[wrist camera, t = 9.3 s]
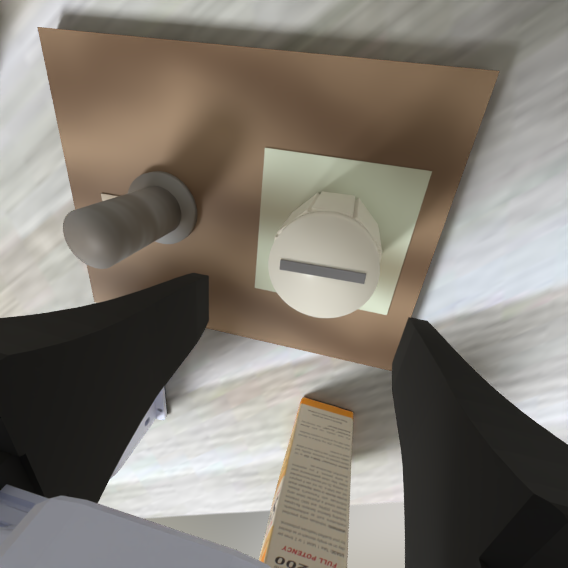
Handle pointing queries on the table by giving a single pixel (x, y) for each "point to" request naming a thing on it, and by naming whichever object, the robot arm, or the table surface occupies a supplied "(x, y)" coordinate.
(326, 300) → the cap
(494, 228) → the table surface
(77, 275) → the table surface
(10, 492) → the robot arm
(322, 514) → the supplement box
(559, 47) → the table surface
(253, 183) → the board
